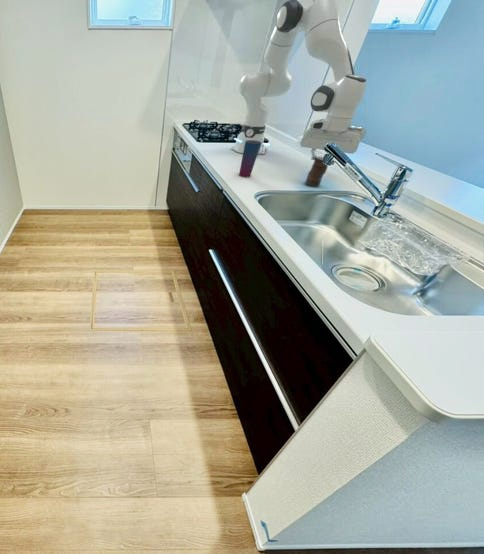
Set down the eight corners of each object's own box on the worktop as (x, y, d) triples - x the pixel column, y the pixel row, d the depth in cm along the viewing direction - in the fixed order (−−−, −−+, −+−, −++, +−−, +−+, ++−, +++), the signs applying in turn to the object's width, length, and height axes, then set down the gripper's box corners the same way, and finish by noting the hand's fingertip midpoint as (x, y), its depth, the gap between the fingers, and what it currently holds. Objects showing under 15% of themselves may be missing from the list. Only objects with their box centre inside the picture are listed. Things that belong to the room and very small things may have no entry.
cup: (253, 178, 138) (263, 143, 129) (238, 177, 139) (246, 143, 130) (250, 173, 143) (260, 140, 134) (236, 172, 145) (244, 139, 135)
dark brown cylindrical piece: (305, 181, 135) (313, 162, 129) (320, 184, 132) (328, 165, 127) (303, 185, 131) (310, 165, 126) (318, 188, 128) (326, 168, 123)
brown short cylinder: (314, 162, 129) (316, 155, 127) (327, 164, 127) (330, 158, 125) (312, 165, 126) (314, 158, 124) (326, 167, 123) (329, 160, 122)
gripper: (368, 126, 114) (351, 163, 122) (309, 120, 124) (296, 155, 132) (367, 129, 110) (349, 167, 118) (306, 123, 119) (294, 158, 128)
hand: (321, 161), depth 125 cm, fingers closed on brown short cylinder, 5 cm apart
